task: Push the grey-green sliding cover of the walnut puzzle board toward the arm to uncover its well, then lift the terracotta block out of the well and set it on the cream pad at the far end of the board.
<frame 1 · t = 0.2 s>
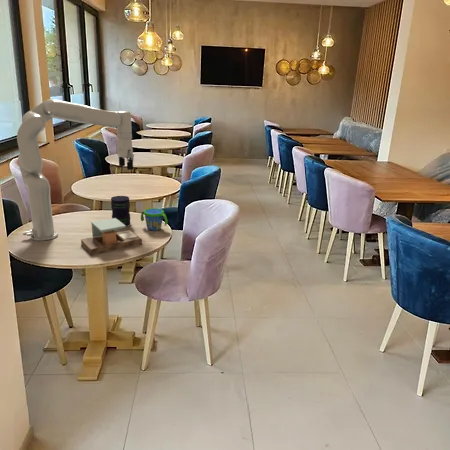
hand: (126, 167, 221), 31 cm above the table, tool pointing down, fingers open, 9 cm apart
block: (109, 243, 199), point 1 cm above the table, touching board
cover: (109, 231, 197), point 7 cm above the table, slide at 0.0 cm
snack cup: (154, 229, 223), on the table
board: (111, 244, 200), on the table
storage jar: (121, 224, 228), on the table
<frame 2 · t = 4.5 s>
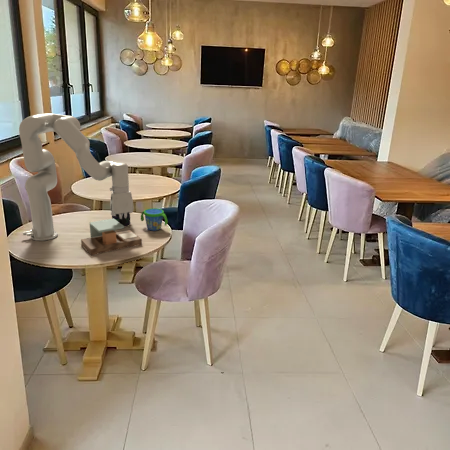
hand: (122, 225, 200), 9 cm above the table, tool pointing down, fingers closed
cover: (107, 231, 196), point 7 cm above the table, slide at 0.9 cm, touching gripper
everything else where it was.
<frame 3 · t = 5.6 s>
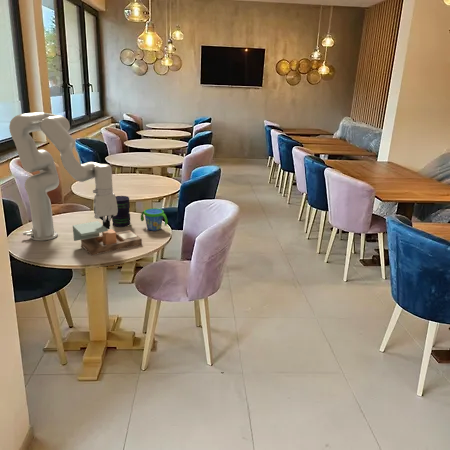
hand: (106, 228, 196), 9 cm above the table, tool pointing down, fingers closed
cover: (90, 234, 192), point 7 cm above the table, slide at 8.9 cm, touching gripper
everything else where it was.
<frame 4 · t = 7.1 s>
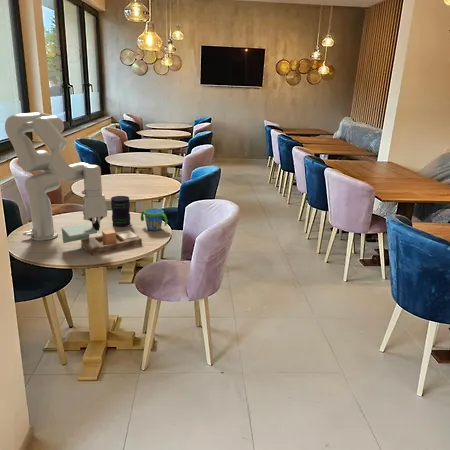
hand: (96, 230, 193), 9 cm above the table, tool pointing down, fingers closed
cover: (79, 236, 189), point 7 cm above the table, slide at 13.9 cm
everything else where it was.
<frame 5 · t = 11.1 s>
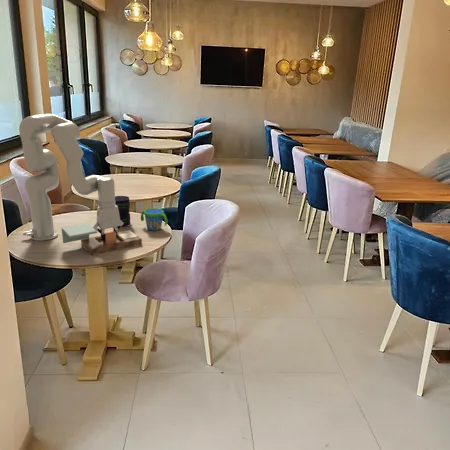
hand: (109, 239, 198), 3 cm above the table, tool pointing down, fingers closed on block, 4 cm apart
block: (109, 243, 199), point 1 cm above the table, touching board, gripper
everything else where it was.
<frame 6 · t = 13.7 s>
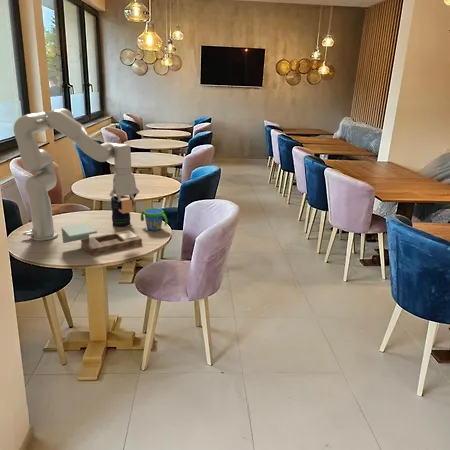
hand: (125, 207, 198), 18 cm above the table, tool pointing down, fingers closed on block, 4 cm apart
block: (125, 211, 199), point 16 cm above the table, touching gripper
everything else where it was.
when the fingers open (7 cm above the table, at t = 16.2 s): block drops 1 cm, resting on board.
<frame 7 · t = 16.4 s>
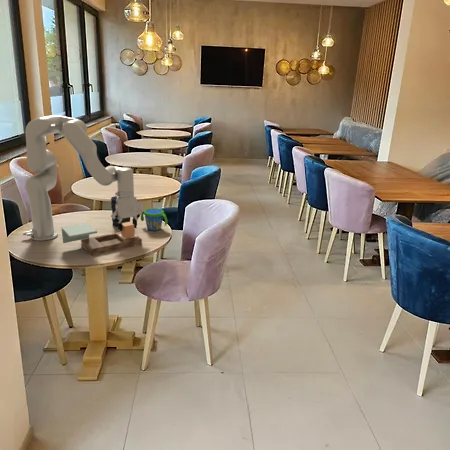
hand: (127, 228, 202), 7 cm above the table, tool pointing down, fingers open, 6 cm apart
block: (127, 235, 204), point 3 cm above the table, touching board
everything else where it was.
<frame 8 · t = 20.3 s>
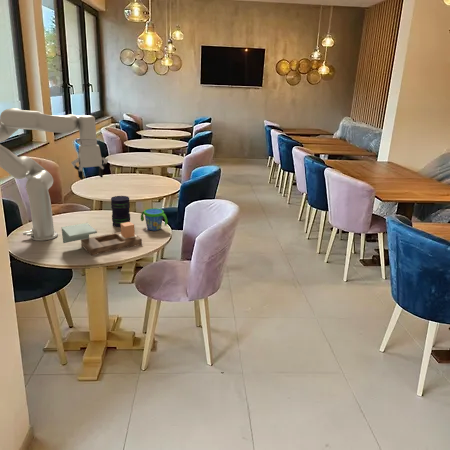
hand: (91, 177, 200), 30 cm above the table, tool pointing down, fingers open, 9 cm apart
nothing on the table moved.
at the end: cover slide at 13.9 cm; block 0.0 cm from the target spot on the board, point 3.2 cm above the board's base; block tilted 0° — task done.
